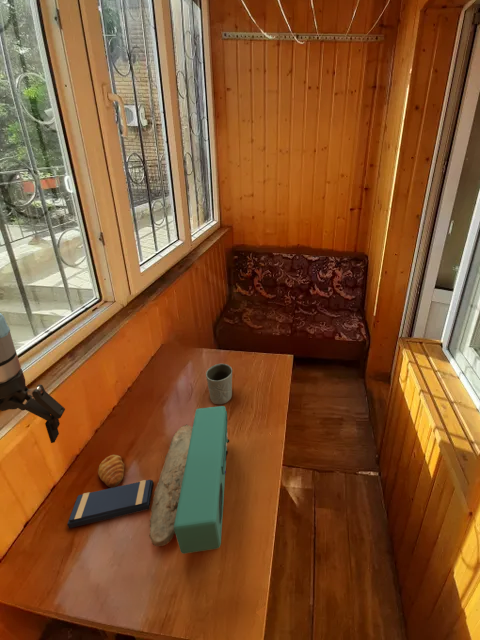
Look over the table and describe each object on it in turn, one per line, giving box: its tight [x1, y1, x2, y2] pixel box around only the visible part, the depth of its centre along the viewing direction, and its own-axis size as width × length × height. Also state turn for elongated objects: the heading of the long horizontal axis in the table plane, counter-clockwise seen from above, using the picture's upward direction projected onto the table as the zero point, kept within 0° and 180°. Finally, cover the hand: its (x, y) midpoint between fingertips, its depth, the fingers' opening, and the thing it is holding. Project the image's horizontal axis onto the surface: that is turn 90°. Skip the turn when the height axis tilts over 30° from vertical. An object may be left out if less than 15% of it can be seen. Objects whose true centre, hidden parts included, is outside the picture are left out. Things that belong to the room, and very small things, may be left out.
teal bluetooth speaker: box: [174, 405, 230, 555], centre depth 88 cm, size 34×10×15 cm, turn 7°
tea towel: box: [67, 479, 154, 529], centre depth 87 cm, size 20×7×3 cm, turn 103°
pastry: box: [97, 454, 125, 488], centre depth 95 cm, size 9×7×4 cm
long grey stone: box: [148, 424, 193, 547], centre depth 93 cm, size 35×5×10 cm
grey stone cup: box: [205, 363, 233, 405], centre depth 123 cm, size 10×10×12 cm
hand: (24, 443), depth 79 cm, fingers open, 13 cm apart
